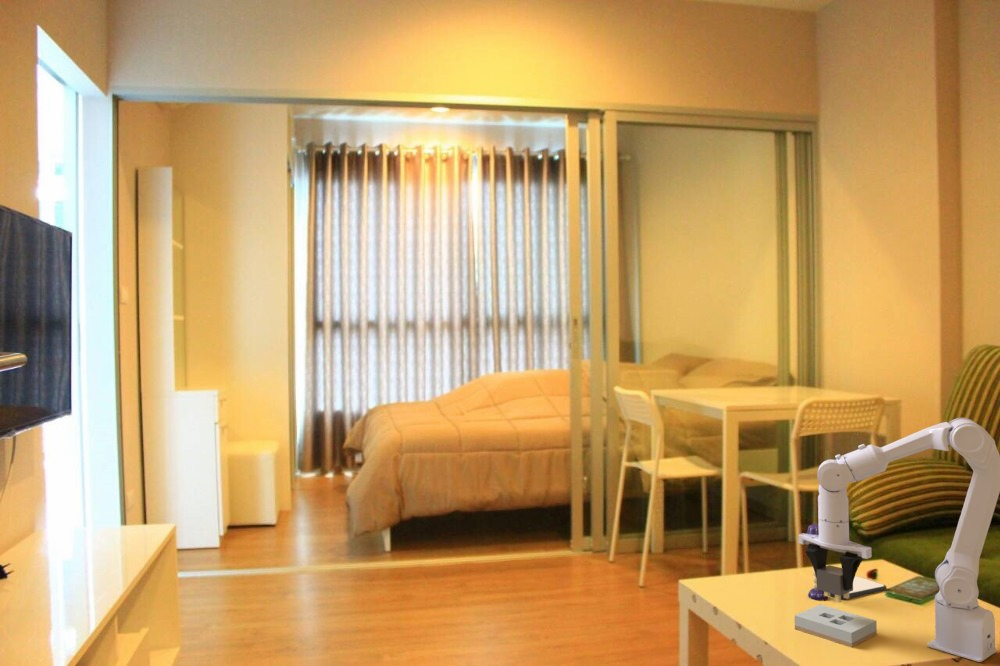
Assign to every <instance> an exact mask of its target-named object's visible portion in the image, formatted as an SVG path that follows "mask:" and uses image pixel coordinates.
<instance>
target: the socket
mask: <svg viewBox="0 0 1000 666" xmlns="http://www.w3.org/2000/svg"><path fill="white" fill-rule="evenodd" d="M877 629H878V628H877V620H876V619H872V618H869V617H865V616H861V615H858V614H855V613H851V612H848V611H845V610H841V609H837V608H834V607H830V606H827V605H823V604H818V605H816V606H813V607H811V608H808V609H806V610H804V611H802V612H800V613H799V612H798V613H797V614H795V615H794V630H797V631H801V632H803V633H806V634H809V635H812V636H815V637H819V638H822V639H825V640H827V641H831V642H834V643H837V644H840V645H843V646H846V647H850V648H853V647H855V646H857V645H859V644H861V643H863V642H864V641H866V640H868V639H871V638H873V637H874V636H876V635H877V633H878V632H877V631H878V630H877Z"/></svg>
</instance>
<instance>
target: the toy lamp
mask: <svg viewBox="0 0 1000 666" xmlns="http://www.w3.org/2000/svg"><path fill="white" fill-rule="evenodd" d="M806 534H811V535H819V524H815V523H814V524H812V523H811V524H810V525H809V526H808V528H807V532H806ZM812 573H813V577H812V578H813V588H811V589H810V590H809V591H808V593H807V597H808V598H809V599H811V600H815V601H826V600H828V599H829V596H824V591H821V590H817V578H816V575H815V571H814V569H813V570H812Z"/></svg>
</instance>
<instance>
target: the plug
mask: <svg viewBox="0 0 1000 666" xmlns="http://www.w3.org/2000/svg"><path fill="white" fill-rule="evenodd" d="M817 590H821V591H824V596H828V597H831V596H830V593H832V594H835V598H834V602H835V603H841V601H842V600H841V595H844V598H846V599H847V600H849V599H848V598H849V592H851V591H853V585H852V589H850V590H848V591H846V590H844V588H843V572H842V567H838V566H836V565H835V566H834V565H831V564H829V565H826V567H823V568H820V569H818V570H817Z"/></svg>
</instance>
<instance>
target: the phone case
mask: <svg viewBox="0 0 1000 666" xmlns="http://www.w3.org/2000/svg"><path fill="white" fill-rule="evenodd" d="M884 591H887V586H886V584H883V583H880V582H877V581H874V580H871V579H868V578H865V577H861V576H855V577H854V581H853V591H851V592H849V598H848V599H846V598H844V595H841V601H847V600H850V599H854V598H856V599H857V598H860V597H865V596H869V595H873V594H877V593H880V592H884ZM829 597H831V598H834V599H835V594H832V593H830V596H829Z"/></svg>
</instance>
